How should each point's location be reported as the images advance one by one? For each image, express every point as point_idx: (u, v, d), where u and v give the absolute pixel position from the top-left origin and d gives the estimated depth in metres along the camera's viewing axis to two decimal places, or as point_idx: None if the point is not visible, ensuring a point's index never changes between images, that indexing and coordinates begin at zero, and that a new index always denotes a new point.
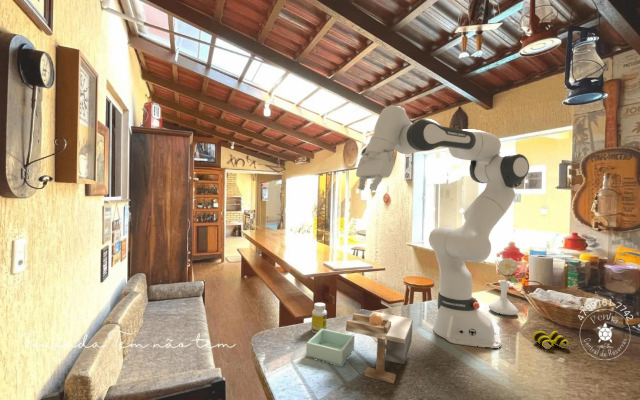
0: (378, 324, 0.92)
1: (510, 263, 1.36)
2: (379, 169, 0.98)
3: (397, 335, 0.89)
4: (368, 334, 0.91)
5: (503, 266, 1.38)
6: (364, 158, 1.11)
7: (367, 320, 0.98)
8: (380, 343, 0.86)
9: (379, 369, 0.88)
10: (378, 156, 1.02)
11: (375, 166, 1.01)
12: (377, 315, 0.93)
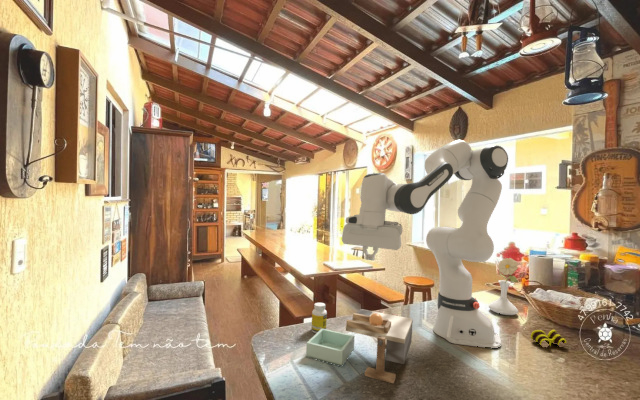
0: (378, 324, 0.92)
1: (510, 263, 1.36)
2: (394, 245, 1.04)
3: (397, 335, 0.89)
4: (368, 334, 0.91)
5: (503, 266, 1.38)
6: (354, 227, 1.09)
7: (367, 320, 0.98)
8: (380, 343, 0.86)
9: (379, 369, 0.88)
10: (384, 230, 1.05)
11: (383, 240, 1.06)
12: (377, 315, 0.93)
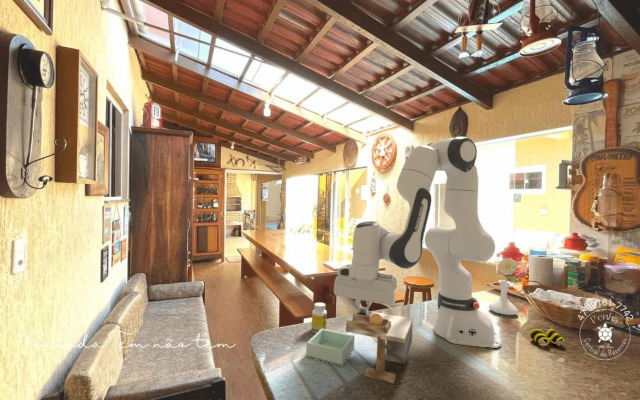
0: (378, 324, 0.92)
1: (510, 263, 1.36)
2: (389, 301, 0.98)
3: (397, 335, 0.89)
4: (368, 334, 0.91)
5: (503, 266, 1.38)
6: (346, 279, 1.04)
7: (367, 320, 0.98)
8: (380, 343, 0.86)
9: (379, 369, 0.88)
10: (378, 284, 1.00)
11: (377, 294, 1.00)
12: (377, 315, 0.93)
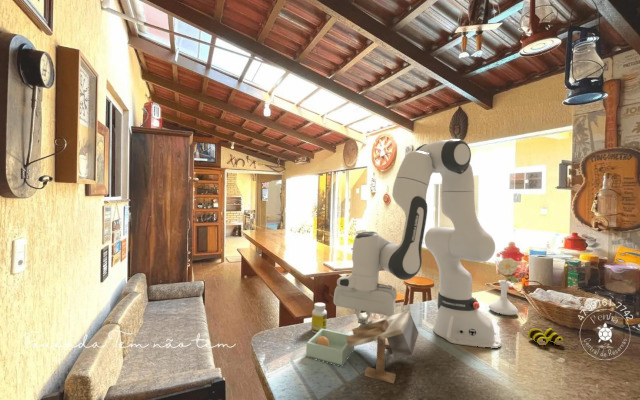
0: (318, 341, 1.00)
1: (510, 263, 1.36)
2: (389, 312, 0.99)
3: (394, 329, 0.89)
4: (369, 341, 0.91)
5: (503, 266, 1.38)
6: (346, 290, 1.04)
7: (366, 329, 0.98)
8: (380, 343, 0.86)
9: (379, 369, 0.88)
10: (377, 295, 1.00)
11: (377, 305, 1.00)
12: None
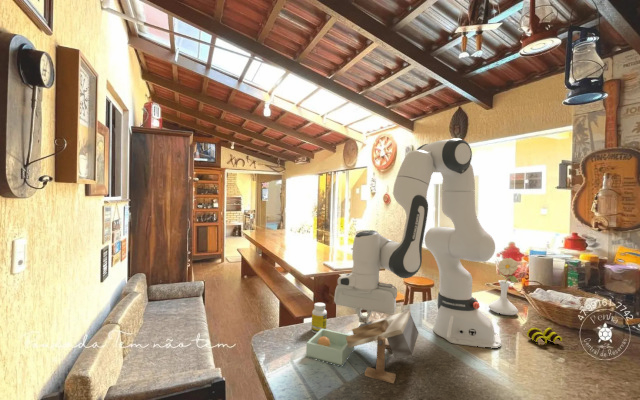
0: (320, 341, 1.00)
1: (510, 263, 1.36)
2: (389, 310, 0.99)
3: (394, 329, 0.89)
4: (369, 341, 0.91)
5: (503, 266, 1.38)
6: (347, 289, 1.04)
7: (366, 329, 0.98)
8: (380, 343, 0.86)
9: (379, 369, 0.88)
10: (378, 293, 1.00)
11: (378, 304, 1.00)
12: None
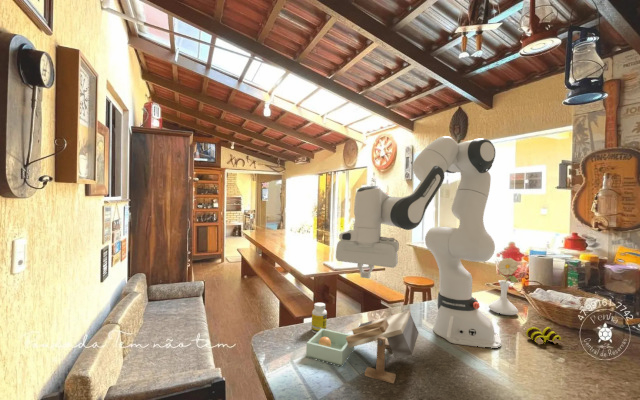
0: (321, 341, 1.00)
1: (510, 263, 1.36)
2: (391, 263, 0.99)
3: (394, 329, 0.89)
4: (369, 341, 0.91)
5: (503, 266, 1.38)
6: (348, 244, 1.04)
7: (366, 329, 0.98)
8: (380, 343, 0.86)
9: (379, 369, 0.88)
10: (380, 247, 1.00)
11: (379, 257, 1.00)
12: None
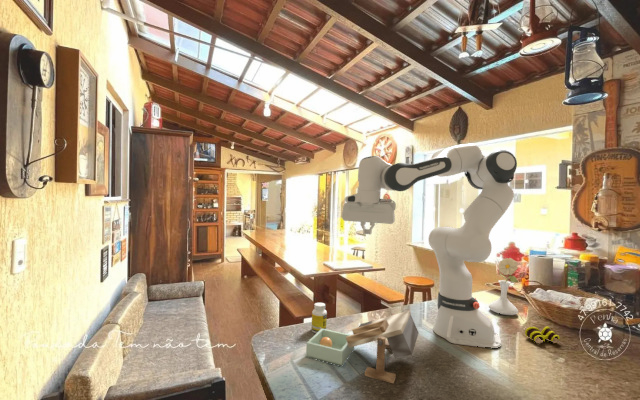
0: (323, 342, 0.99)
1: (510, 263, 1.36)
2: (389, 220, 1.17)
3: (394, 329, 0.89)
4: (369, 341, 0.91)
5: (503, 266, 1.38)
6: (353, 205, 1.22)
7: (366, 329, 0.98)
8: (380, 343, 0.86)
9: (379, 369, 0.88)
10: (379, 207, 1.19)
11: (379, 215, 1.19)
12: None
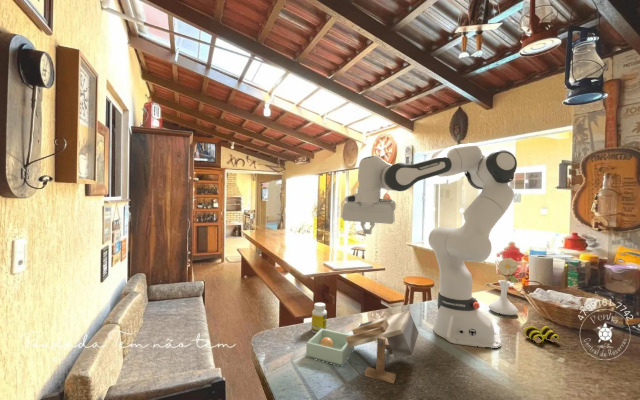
0: (324, 342, 0.99)
1: (510, 263, 1.36)
2: (389, 220, 1.17)
3: (394, 329, 0.89)
4: (369, 341, 0.91)
5: (503, 266, 1.38)
6: (353, 205, 1.22)
7: (366, 329, 0.98)
8: (380, 343, 0.86)
9: (379, 369, 0.88)
10: (379, 207, 1.19)
11: (379, 215, 1.19)
12: None
